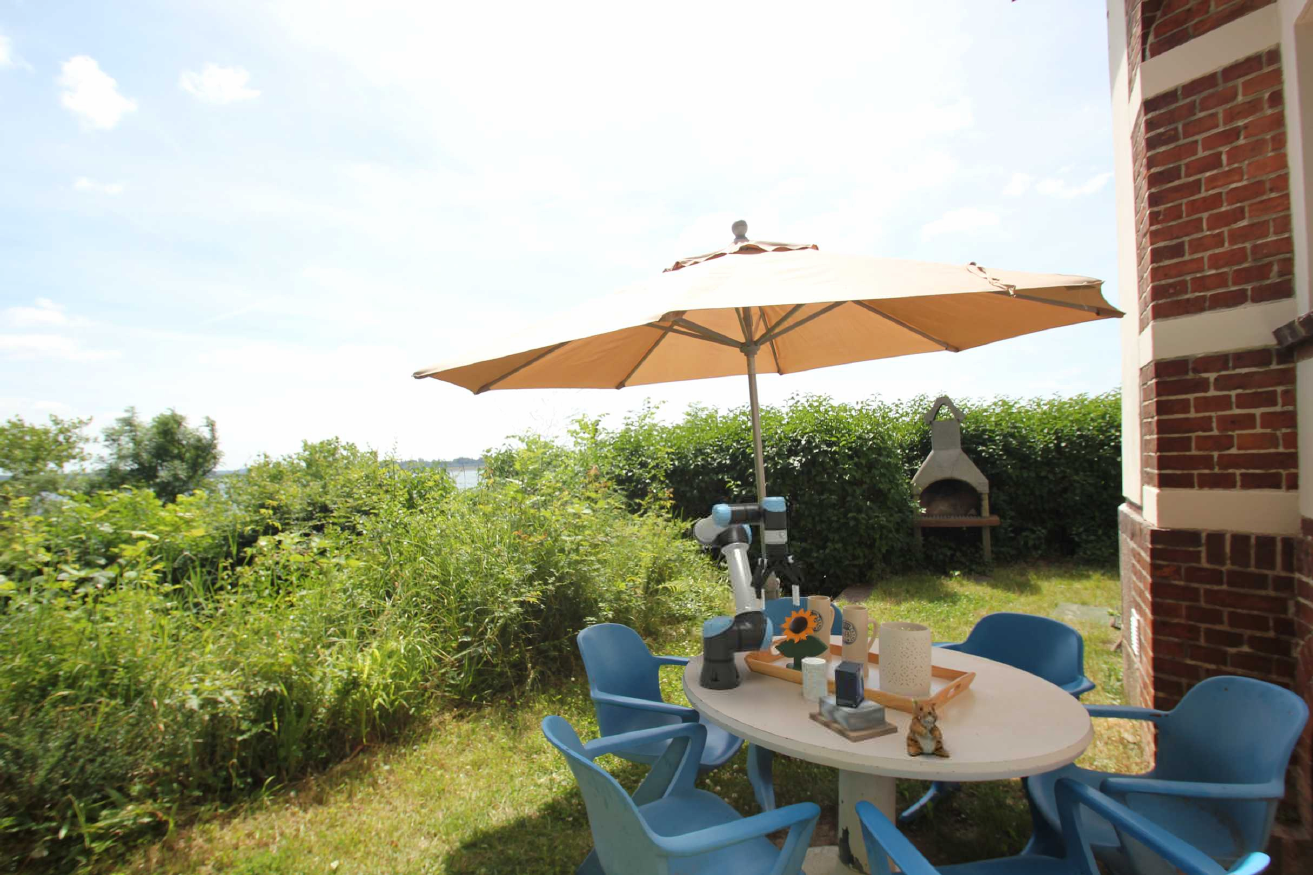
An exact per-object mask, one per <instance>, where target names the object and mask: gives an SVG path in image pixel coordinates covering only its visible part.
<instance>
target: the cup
mask: <svg viewBox="0 0 1313 875" xmlns="http://www.w3.org/2000/svg"><path fill="white" fill-rule="evenodd" d="M801 674H802V675H801V677H802V692H803V698H804V699H805V700H807V701H811V702H819V698H818V697H823V696H828V695H829V690H828V689H829V688H828V674H827V661H826V659H824V658H821V657H805V658H802V659H801Z"/></svg>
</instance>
